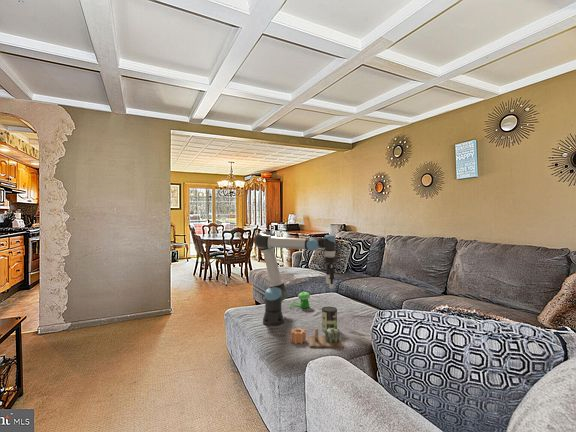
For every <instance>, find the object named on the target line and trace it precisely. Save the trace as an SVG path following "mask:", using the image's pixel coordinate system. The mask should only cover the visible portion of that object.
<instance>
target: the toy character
mask: <svg viewBox="0 0 576 432" xmlns="http://www.w3.org/2000/svg"><path fill="white" fill-rule="evenodd" d="M297 294H298V295H297V298H298V299H299V300H300V303H299V302H297V301H293V302H292V303H290V305H289V306H288V308H289V309H291V308H292V307H294V306H296V307H298V308H302V309H307V308H309V307H310V302H309V299H310V298H311V294H310V293H309V292H308V291H307V292H306V291H304V290H302V292H300V293H297Z"/></svg>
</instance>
